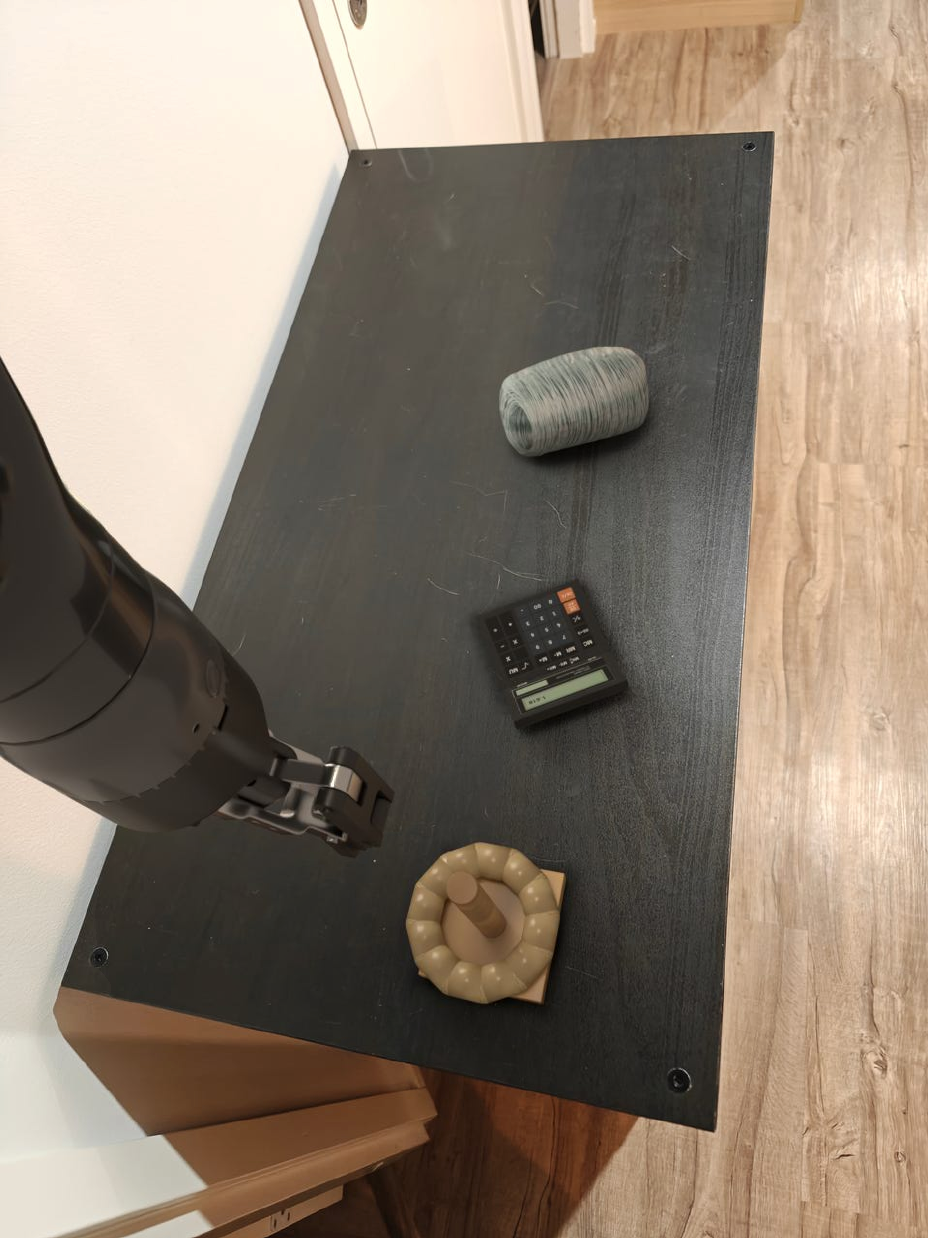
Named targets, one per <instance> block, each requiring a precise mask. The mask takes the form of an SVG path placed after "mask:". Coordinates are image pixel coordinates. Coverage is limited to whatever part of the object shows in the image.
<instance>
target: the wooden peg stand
mask: <svg viewBox="0 0 928 1238" xmlns="http://www.w3.org/2000/svg"><path fill="white" fill-rule="evenodd" d="M448 852H451V851H448V850H447V851H446V853H448ZM539 869H540V870H541V871H542V872H543V873H544V874H545V875H546V876H547V878H548V880H549V883H550V886H551V889H552V892H553V895H554V898H555V901H556V904H557V907H558V910H559V913H560V914H561V910H562V906H563V905H562V904H563V898H564V892H565V889H566V882H567V877H566V874H565V873H564V872H559V871H553V870H548V869H542V868H539ZM446 893H447V896H448V898H447V899H446V900H445V903H444V907H443V912H442V916H441V920H440V926H441V930H442V934H443V937H444V941H445V945H446V946H447V947H448V948H449V949H450V950H451V951H452V952H453V953H454V954H455V955H456V956H457V957H458V958H459V959H460V960H461V961H464V962H468V963H472V964H477V965H481V966H485V965H488V964H491V963H493V962H496V961H499V960H502V959H505V958H506V957H507V956H508V955H509V953H510V952H511V951H512V950H513V949H514V948H515V946H516V945H517V944H518V943H519V942H520V941H521V936H522V931H523V926H524V921H525V915H524V912H523V908H522V905H521V902H520V899H519V896H518V895H517V894H516V893H515V892H514V891H513V890H512V889H511V888H510V887H509V886H507V885H506V884H505V883H504V882H503V881H501V880H496V879H491V878H486V877H479V878H475V877H474V876H473V875H472V874H470V873H468V872H457V873H455V874H453V875H452V876H451V877H450V878H449V880H448V882H447V885H446ZM552 960H553V958H552V959H551V960H550V962H549V963H548V964H547V965H546V967H545V968H544V969H543V970H542V971H541V973H540V974H539V975H538V976H537V977H536V978H535V980H534V981H533V982H532V983H531V984H530V986H529V987H528V988H527V989H526V990H524V991H523V992H521V993H518V994H515V995H512V996H509V997H508V998H510V999H515V1000H518V1001H519V1000H520V1001H525V1002H529V1003H531V1004H532V1003H533V1004H537V1005H542V1006H543V1005H544V1004H545V1000H546V994H547V988H548V983H549V977H550V971H551V966H552V965H551V964H552ZM418 975H419V976H420V977H422V978H425V979H428V980H430V979H429V978H428V977H427V976H426V975H425V974H424V973H423V972H422V971H421V970H420V969H419V968H418Z"/></svg>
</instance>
